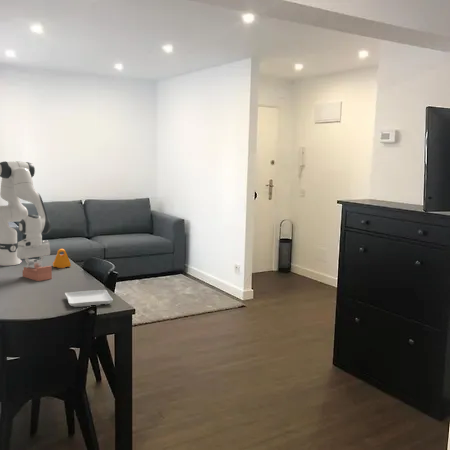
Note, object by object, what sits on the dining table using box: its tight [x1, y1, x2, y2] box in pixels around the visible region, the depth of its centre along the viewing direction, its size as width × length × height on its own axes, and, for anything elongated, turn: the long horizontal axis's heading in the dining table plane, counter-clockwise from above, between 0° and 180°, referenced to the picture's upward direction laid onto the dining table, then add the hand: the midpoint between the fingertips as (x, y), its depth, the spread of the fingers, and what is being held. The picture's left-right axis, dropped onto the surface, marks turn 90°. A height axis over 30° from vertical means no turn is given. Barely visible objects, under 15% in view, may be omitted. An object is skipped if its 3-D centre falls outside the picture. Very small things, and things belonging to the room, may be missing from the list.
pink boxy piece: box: [22, 265, 53, 282], centre depth 297 cm, size 16×9×8 cm, turn 53°
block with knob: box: [26, 258, 43, 270], centre depth 299 cm, size 8×5×6 cm, turn 53°
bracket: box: [52, 248, 71, 269], centre depth 330 cm, size 11×7×12 cm, turn 113°
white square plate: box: [64, 289, 114, 308], centre depth 252 cm, size 21×21×3 cm
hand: (34, 264), depth 299 cm, fingers open, 6 cm apart
